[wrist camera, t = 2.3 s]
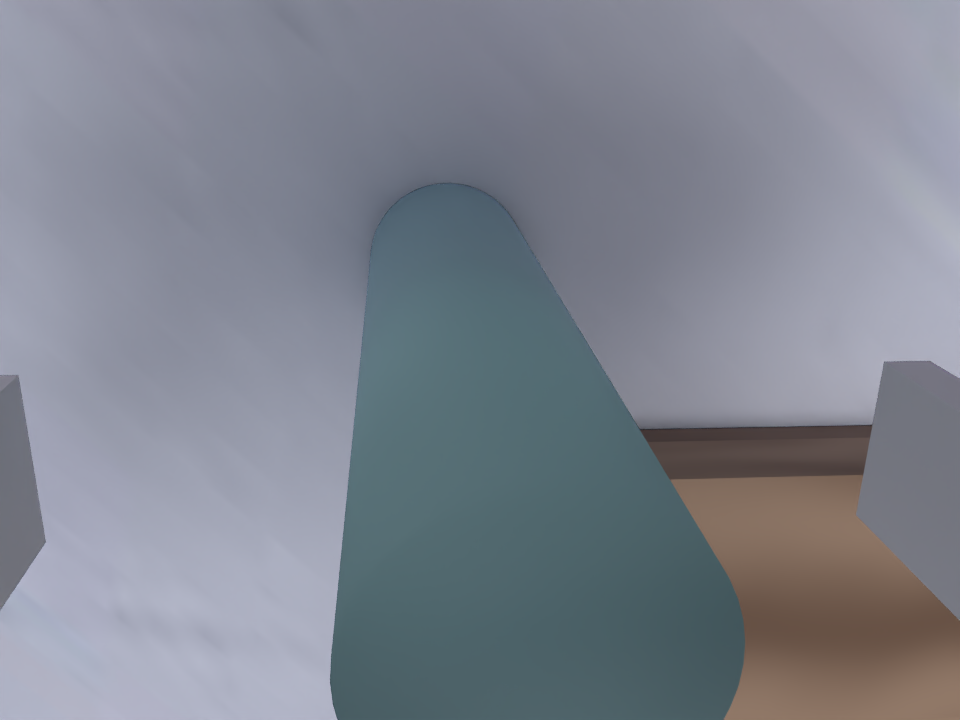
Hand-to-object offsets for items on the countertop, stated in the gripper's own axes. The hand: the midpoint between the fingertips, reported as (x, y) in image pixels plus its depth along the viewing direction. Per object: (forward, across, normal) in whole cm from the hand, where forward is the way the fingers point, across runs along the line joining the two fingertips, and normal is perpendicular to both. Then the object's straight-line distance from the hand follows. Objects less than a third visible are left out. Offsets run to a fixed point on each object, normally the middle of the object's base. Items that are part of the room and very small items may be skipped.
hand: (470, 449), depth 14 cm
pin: (+10, 0, 0) cm, 11 cm away
